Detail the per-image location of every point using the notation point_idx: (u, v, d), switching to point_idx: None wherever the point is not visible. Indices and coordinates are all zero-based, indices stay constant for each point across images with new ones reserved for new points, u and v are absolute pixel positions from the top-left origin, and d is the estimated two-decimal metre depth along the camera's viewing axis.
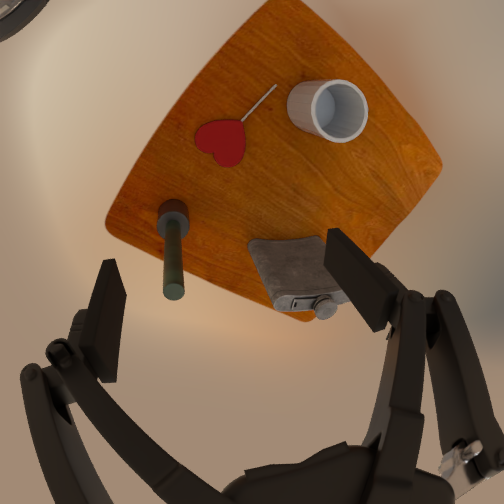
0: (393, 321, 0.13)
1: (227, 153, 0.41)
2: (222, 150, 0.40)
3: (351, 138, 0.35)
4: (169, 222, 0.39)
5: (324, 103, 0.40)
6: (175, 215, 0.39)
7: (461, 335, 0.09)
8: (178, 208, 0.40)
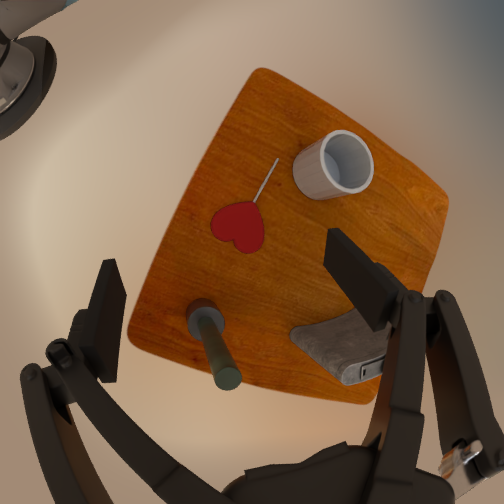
0: (393, 321, 0.13)
1: (248, 237, 0.41)
2: (241, 235, 0.41)
3: (365, 185, 0.36)
4: (201, 319, 0.35)
5: (327, 167, 0.44)
6: (207, 311, 0.35)
7: (462, 335, 0.09)
8: (208, 304, 0.37)
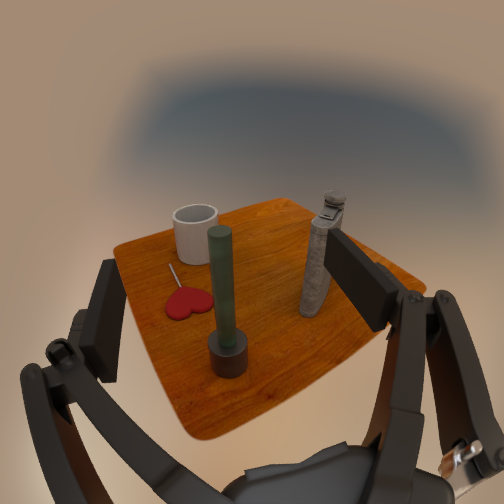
0: (393, 321, 0.13)
1: (199, 300, 0.45)
2: (193, 303, 0.45)
3: (216, 211, 0.54)
4: None
5: None
6: (216, 333, 0.34)
7: (461, 335, 0.09)
8: None
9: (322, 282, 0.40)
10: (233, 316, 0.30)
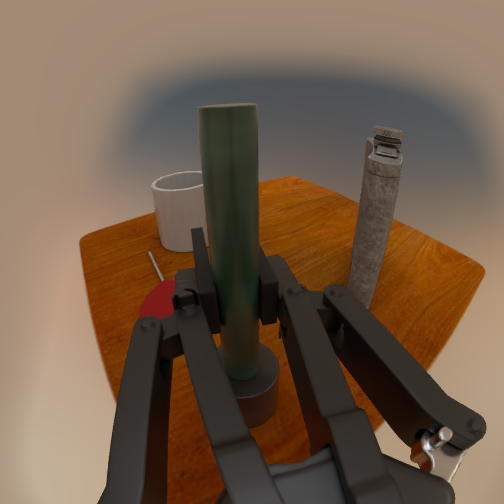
0: (280, 320, 0.13)
1: None
2: None
3: None
4: None
5: None
6: (221, 354, 0.18)
7: (373, 328, 0.10)
8: None
9: (382, 259, 0.25)
10: (256, 320, 0.14)
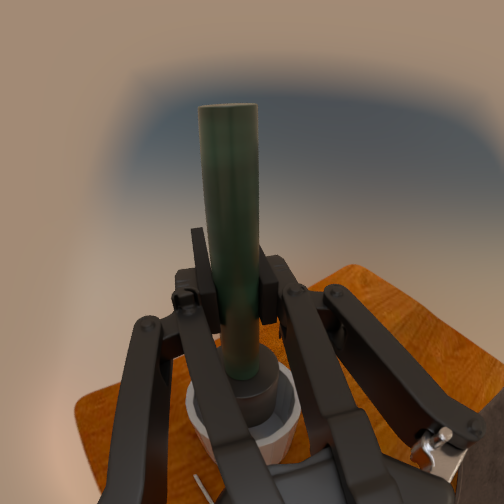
0: (280, 320, 0.13)
1: None
2: None
3: None
4: None
5: None
6: (221, 354, 0.18)
7: (373, 329, 0.10)
8: None
9: None
10: (256, 320, 0.14)
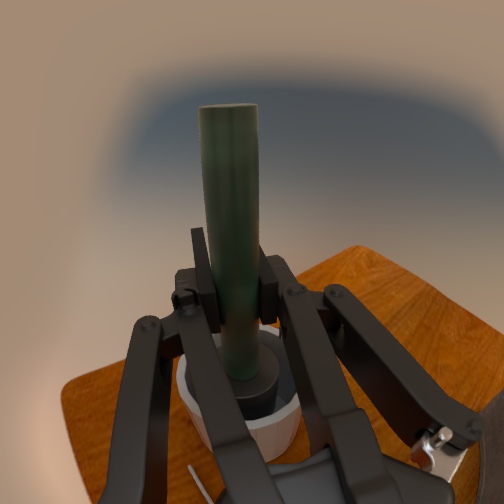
0: (280, 320, 0.13)
1: None
2: None
3: None
4: None
5: None
6: (221, 354, 0.18)
7: (373, 328, 0.10)
8: None
9: None
10: (256, 320, 0.14)
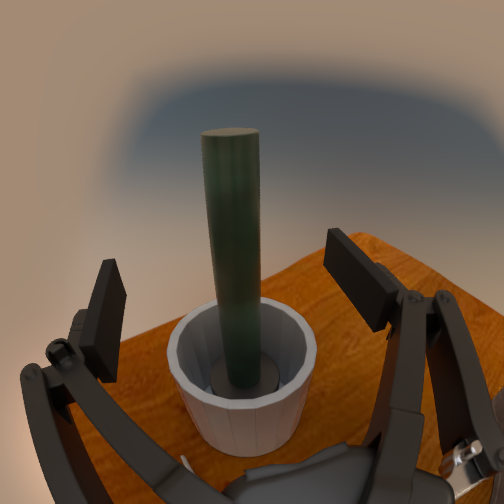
0: (393, 321, 0.13)
1: None
2: None
3: (309, 332, 0.17)
4: None
5: None
6: (224, 362, 0.19)
7: (461, 335, 0.09)
8: None
9: None
10: (258, 332, 0.15)
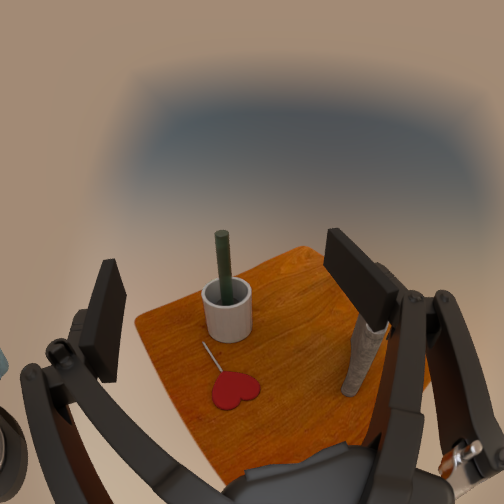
0: (393, 321, 0.13)
1: (245, 387, 0.42)
2: (240, 391, 0.42)
3: (249, 288, 0.51)
4: (221, 303, 0.52)
5: None
6: (220, 301, 0.53)
7: (462, 335, 0.09)
8: None
9: (367, 370, 0.37)
10: (231, 286, 0.49)
